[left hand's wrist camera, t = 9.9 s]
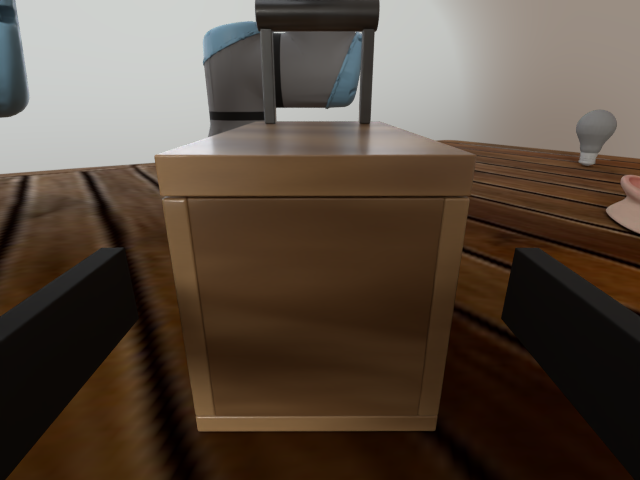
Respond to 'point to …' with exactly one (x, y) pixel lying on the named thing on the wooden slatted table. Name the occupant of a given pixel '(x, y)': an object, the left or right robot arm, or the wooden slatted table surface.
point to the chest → (316, 308)
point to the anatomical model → (628, 204)
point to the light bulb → (594, 134)
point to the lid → (316, 133)
